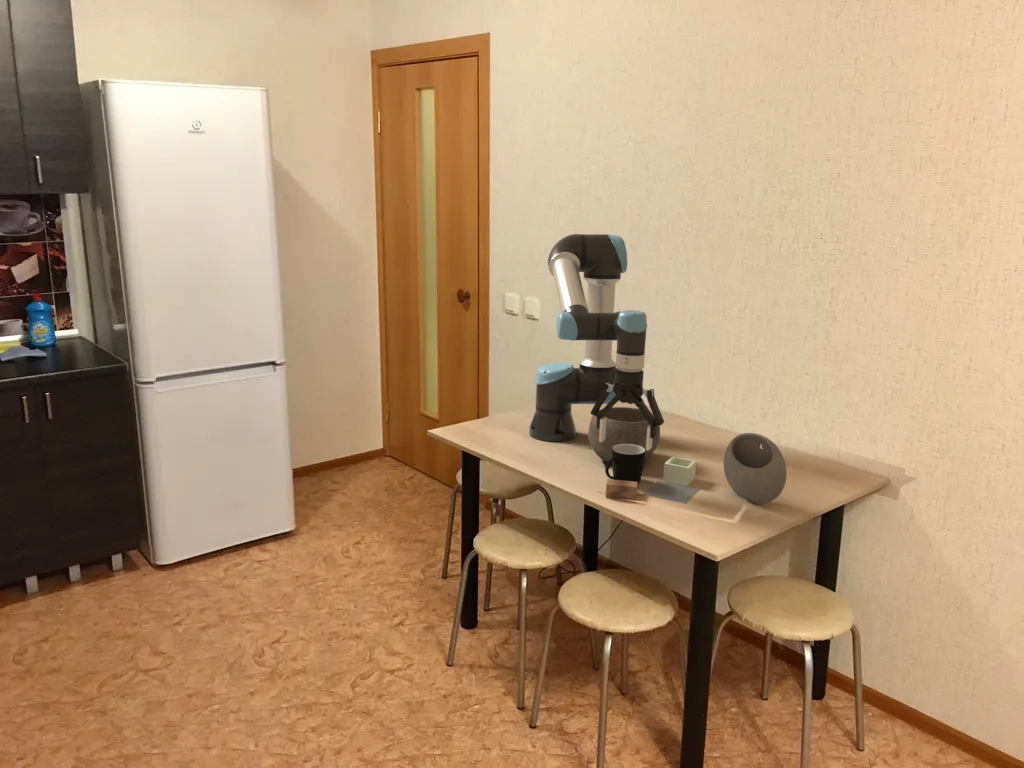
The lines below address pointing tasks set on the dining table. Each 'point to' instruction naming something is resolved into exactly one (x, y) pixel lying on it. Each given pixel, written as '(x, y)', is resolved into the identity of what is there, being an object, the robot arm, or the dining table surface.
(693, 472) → the tub
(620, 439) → the bowl
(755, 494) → the planter
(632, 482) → the walnut block
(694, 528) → the dining table surface
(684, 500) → the coaster mat
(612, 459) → the mug
